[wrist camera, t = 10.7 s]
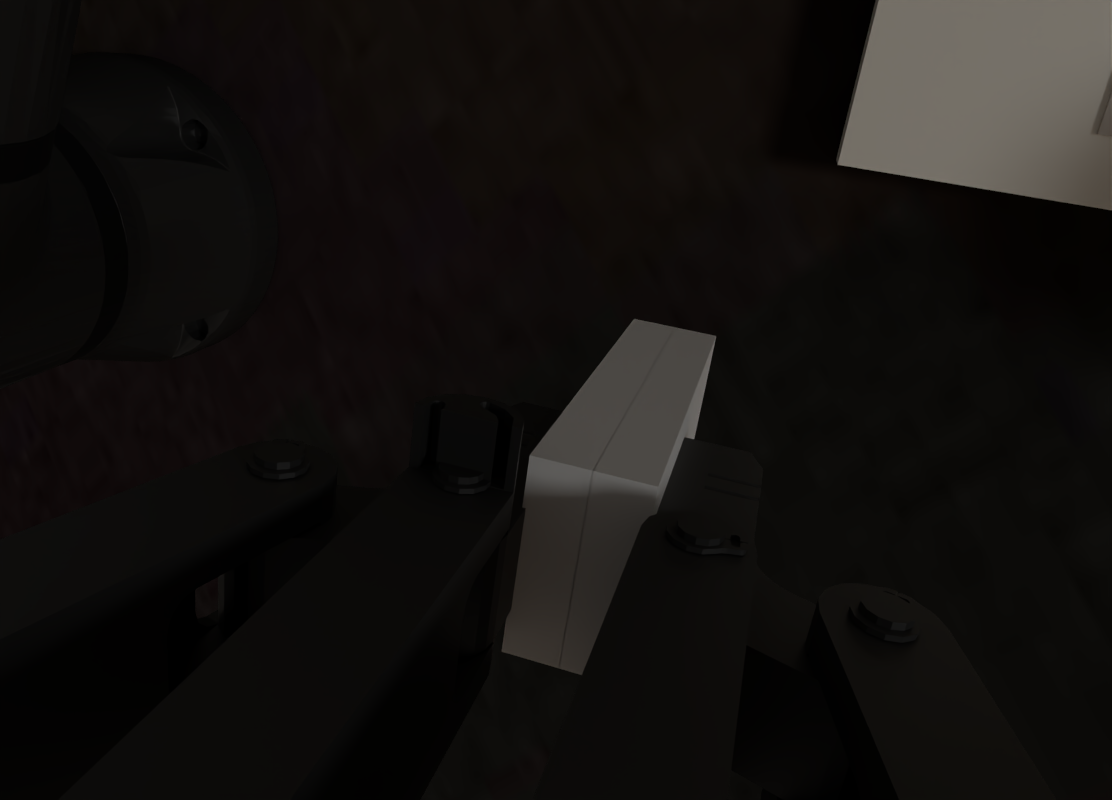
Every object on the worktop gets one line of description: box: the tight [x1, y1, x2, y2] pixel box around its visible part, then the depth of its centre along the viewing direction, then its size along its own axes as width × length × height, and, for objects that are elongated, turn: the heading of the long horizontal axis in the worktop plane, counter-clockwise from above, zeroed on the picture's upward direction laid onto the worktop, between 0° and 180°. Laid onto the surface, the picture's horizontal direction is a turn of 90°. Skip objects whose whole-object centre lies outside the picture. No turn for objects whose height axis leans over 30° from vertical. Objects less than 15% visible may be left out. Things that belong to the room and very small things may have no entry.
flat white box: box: [836, 0, 1112, 210], centre depth 32 cm, size 16×12×3 cm
